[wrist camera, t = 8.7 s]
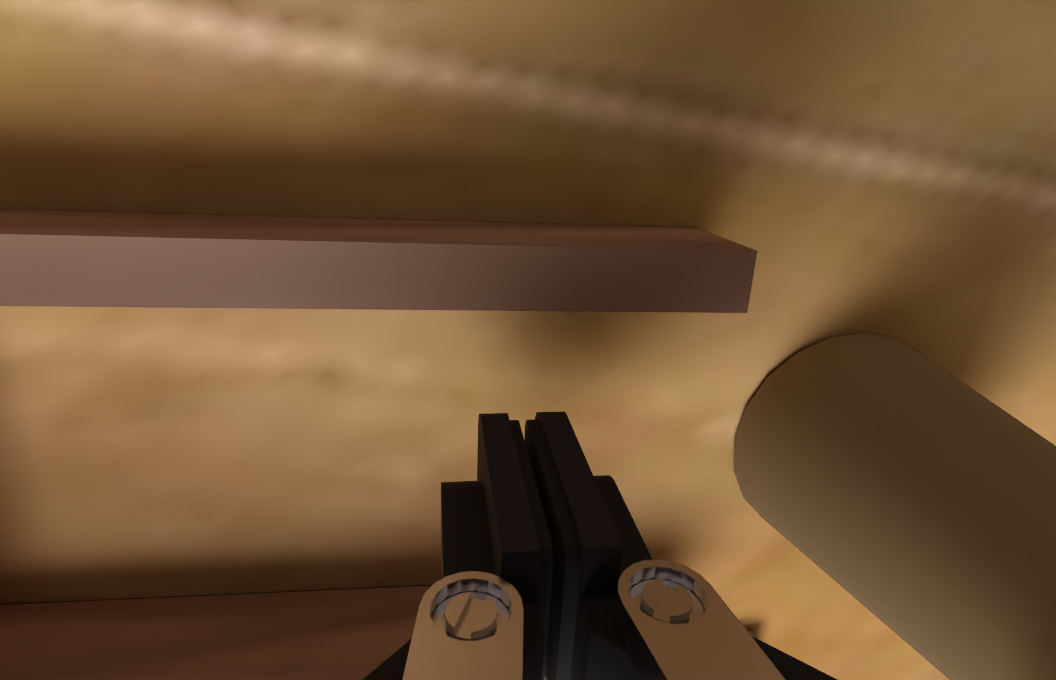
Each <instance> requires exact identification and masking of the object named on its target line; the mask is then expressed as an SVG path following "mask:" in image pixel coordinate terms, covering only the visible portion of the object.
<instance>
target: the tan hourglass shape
mask: <svg viewBox="0 0 1056 680" xmlns="http://www.w3.org/2000/svg"><path fill="white" fill-rule="evenodd" d="M734 472H735V475H736V478H737V480H738V483H739V486H740V489H741V492H742V494H743V497H744V498H745V499H746V501H747V502H748V503H749V504H750V505H751V506H752V507H753V508H754V509H755V510H756V512H757V513H758V514H759V515H760V516H761V517H762V518H763V519H764V520H765V521H767V522H768V523H769V524H770V525H771V526H772V527H773V528H775V529H776V530H777V531H778V532H779V533H780V534H782V535H783V536H784V537H785V538H786V539H787V540H789V541H790V542H791V543H792V544H793V545H794V546H795V547H797V548H798V549H799V550H800V551H801V552H802V553H804V554H805V555H806V556H807V557H808V558H809V559H811V560H812V561H813V562H814V563H815V564H816V565H817V566H819V567H820V568H821V569H822V570H823V571H824V572H826V573H827V574H828V575H829V576H830V577H831V578H833V579H834V580H835V581H836V582H837V583H838V584H839V585H841V586H842V587H843V588H844V589H845V590H846V591H848V592H849V593H850V594H851V595H852V596H853V597H855V598H856V599H857V600H858V601H859V602H860V603H861V604H863V605H864V606H865V607H866V608H867V609H868V610H870V611H871V612H872V613H873V614H874V615H875V616H877V617H878V618H879V619H880V620H881V621H882V622H883V623H885V624H886V625H887V626H888V627H889V628H890V629H892V630H893V631H894V632H895V633H896V634H897V635H899V636H900V637H901V638H902V639H903V640H904V641H905V642H907V643H908V644H909V645H910V646H911V647H912V648H914V649H915V650H916V651H917V652H918V653H919V654H921V655H922V656H923V657H924V658H925V659H926V660H927V661H929V662H930V663H931V664H932V665H933V666H934V667H936V668H937V669H938V670H939V671H940V672H941V673H943V674H944V675H945V676H946V677H947V678H948V679H949V680H1056V446H1055V445H1053V444H1052V443H1051V442H1049V441H1048V440H1046V439H1045V438H1043V437H1042V436H1040V435H1039V434H1037V433H1036V432H1035V431H1033V430H1032V429H1030V428H1029V427H1027V426H1026V425H1024V424H1023V423H1021V422H1020V421H1019V420H1017V419H1016V418H1014V417H1013V416H1011V415H1010V414H1008V413H1007V412H1005V411H1004V410H1002V409H1001V408H1000V407H998V406H997V405H995V404H994V403H992V402H991V401H989V400H988V399H986V398H985V397H984V396H982V395H981V394H979V393H978V392H976V391H975V390H973V389H972V388H970V387H969V386H968V385H966V384H965V383H963V382H962V381H960V380H959V379H957V378H956V377H954V376H953V375H952V374H950V373H949V372H947V371H946V370H944V369H943V368H941V367H940V366H938V365H937V364H935V363H934V362H933V361H931V360H930V359H928V358H927V357H925V356H924V355H922V354H921V353H919V352H918V351H916V350H915V349H913V348H912V347H910V346H908V345H907V344H905V343H904V342H902V341H901V340H899V339H898V338H893V337H888V336H882V335H877V334H872V333H867V332H865V333H857V334H850V335H843V336H836V337H830V338H828V339H826V340H824V341H822V342H819V343H817V344H815V345H813V346H811V347H808V348H806V349H804V350H802V351H800V352H797V353H796V354H795V355H794V356H792V357H791V358H790V359H789V360H787V361H786V362H785V363H784V364H783V365H781V366H780V367H779V368H778V369H777V370H775V371H774V372H773V373H772V374H771V375H769V376H768V377H767V378H766V380H765V381H764V383H763V384H762V385H761V387H760V388H759V390H758V391H757V392H756V394H755V395H754V397H753V398H752V399H751V401H750V402H749V404H748V405H747V406H746V409H745V411H744V414H743V417H742V420H741V423H740V426H739V428H738V431H737V434H736V437H735V445H734Z"/></svg>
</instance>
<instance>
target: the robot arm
mask: <svg viewBox="0 0 1056 680" xmlns="http://www.w3.org/2000/svg"><path fill="white" fill-rule="evenodd" d="M441 549H442V579H441V580H439V581H438V582H436V583H434V584H433V585H432V586H431V587H430V588H429V589H428V590H427V592H426V593H425V594H424V596H423V598H422V600H421V603H420V605H419V609H418V613H417V617H416V622H415V626H414V631H413V635H412V638H411V639H410V640H409V641H408V642H407V643H405V644H404V645H403V646H402V647H401V648H399V649H398V650H397V651H396V652H395V653H393V654H392V655H391V656H390V657H389V658H388V659H386V660H385V661H384V662H383V663H382V664H380V665H379V666H378V667H377V668H376V669H375V670H373V671H372V672H371V673H370V674H369V675H367V676H366V677H365V678H364V679H363V680H545V678H546V680H837V679H835V678H833V677H831V676H829V675H827V674H825V673H823V672H821V671H819V670H817V669H815V668H813V667H811V666H809V665H807V664H805V663H803V662H802V661H800V660H798V659H796V658H794V657H792V656H790V655H788V654H786V653H784V652H782V651H780V650H778V649H776V648H774V647H772V646H770V645H768V644H766V643H764V642H762V641H760V640H758V639H756V638H754V637H752V636H751V635H750V634H749V633H748V631H747V630H746V629H745V628H744V626H743V625H742V624H741V623H740V621H739V620H738V619H737V617H736V616H735V615H734V614H733V612H732V611H731V610H730V609H729V607H728V606H727V605H726V603H725V602H724V601H723V600H722V598H721V597H720V596H719V595H718V593H717V592H716V591H715V590H714V588H713V587H712V586H711V584H709V583H708V582H707V581H706V580H705V579H704V578H703V577H702V576H701V575H700V574H698V573H697V572H695V571H694V570H692V569H690V568H689V567H687V566H684V565H681V564H678V563H676V562H672V561H666V560H660V559H656V560H652V558H651V556H650V554H649V551H648V549H647V547H646V545H645V543H644V541H643V539H642V537H641V535H640V533H639V531H638V529H637V527H636V525H635V523H634V520H633V518H632V516H631V514H630V512H629V510H628V508H627V506H626V504H625V502H624V500H623V498H622V496H621V494H620V492H619V490H618V487H617V485H616V483H615V481H614V480H613V478H612V477H611V476H609V475H606V476H593V474H592V472H591V470H590V467H589V465H588V463H587V460H586V458H585V456H584V454H583V451H582V449H581V447H580V444H579V442H578V440H577V437H576V435H575V433H574V430H573V428H572V426H571V424H570V421H569V419H568V417H567V414H566V413H565V412H537V413H536V417H535V420H526V424H525V441H524V438H523V434H522V431H521V427H520V423H519V420H509V417H508V413H495V414H479V422H478V468H477V481H464V482H441Z"/></svg>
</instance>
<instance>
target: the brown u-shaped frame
mask: <svg viewBox="0 0 1056 680" xmlns="http://www.w3.org/2000/svg"><path fill="white" fill-rule="evenodd" d="M756 254H757V251H756V250H753V249H750V248H748V247H745V246H743V245H740V244H737V243H735V242H732V241H730V240H727V239H725V238H722V237H719V236H717V235H714V234H712V233H709V232H706V231H704V230H701V229H699V228H686V227H649V226H612V225H575V224H538V223H501V222H464V221H428V220H391V219H354V218H317V217H280V216H243V215H206V214H169V213H132V212H96V211H59V210H22V209H0V306H76V307H183V308H289V309H395V310H501V311H608V312H714V313H747V310H748V304H749V298H750V292H751V285H752V279H753V273H754V267H755V261H756ZM430 587H431V586H410V587H388V588H366V589H344V590H322V591H300V592H277V593H255V594H233V595H211V596H189V597H167V598H145V599H123V600H101V601H79V602H57V603H34V604H12V605H0V680H363V679H364V678H365V677H366V676H367V675H369V674H370V673H371V672H372V671H373V670H375V669H376V668H377V667H378V666H379V665H380V664H382V663H383V662H384V661H385V660H386V659H388V658H389V657H390V656H391V655H392V654H393V653H395V652H396V651H397V650H398V649H399V648H401V647H402V646H403V645H404V644H405V643H407V642H408V641H409V640H410V639H411V638H412V635H413V631H414V626H415V622H416V617H417V613H418V609H419V605H420V603H421V600H422V598H423V596H424V594H425V593H426V592H427V590H428V589H429V588H430ZM545 680H546V678H545Z"/></svg>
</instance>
